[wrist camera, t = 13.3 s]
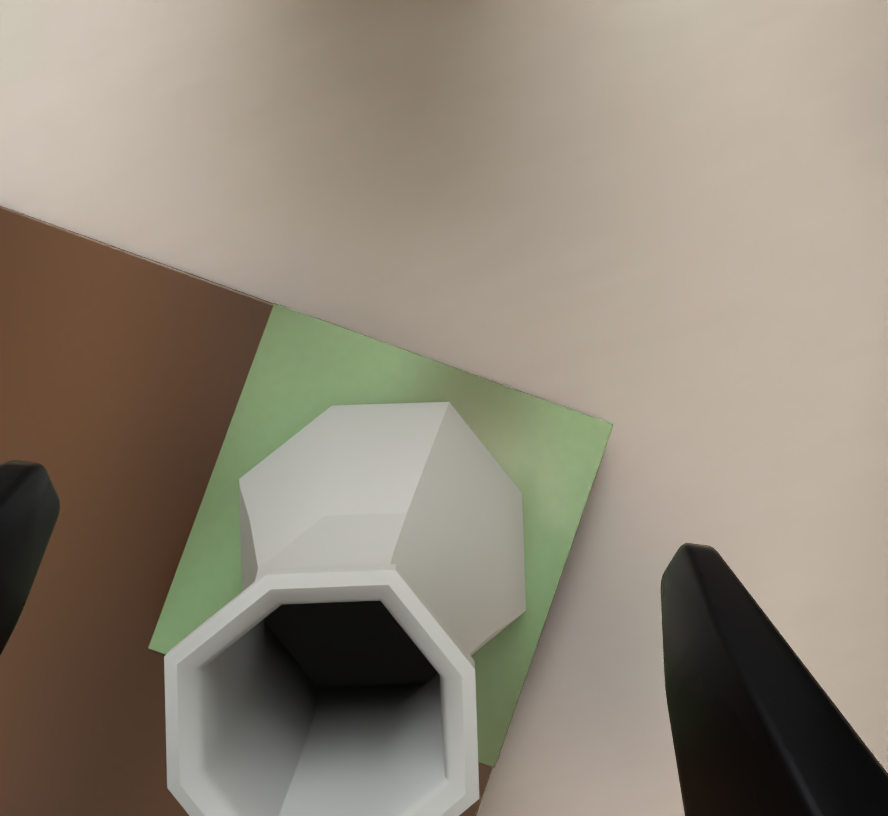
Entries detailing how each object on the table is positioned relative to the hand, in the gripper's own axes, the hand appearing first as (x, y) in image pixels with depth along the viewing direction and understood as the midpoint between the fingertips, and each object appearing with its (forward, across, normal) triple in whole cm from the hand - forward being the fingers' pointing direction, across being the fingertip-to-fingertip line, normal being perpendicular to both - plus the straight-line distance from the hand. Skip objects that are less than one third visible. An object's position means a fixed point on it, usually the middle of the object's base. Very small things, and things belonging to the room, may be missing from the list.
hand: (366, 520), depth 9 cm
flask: (+4, 0, +6) cm, 7 cm away
